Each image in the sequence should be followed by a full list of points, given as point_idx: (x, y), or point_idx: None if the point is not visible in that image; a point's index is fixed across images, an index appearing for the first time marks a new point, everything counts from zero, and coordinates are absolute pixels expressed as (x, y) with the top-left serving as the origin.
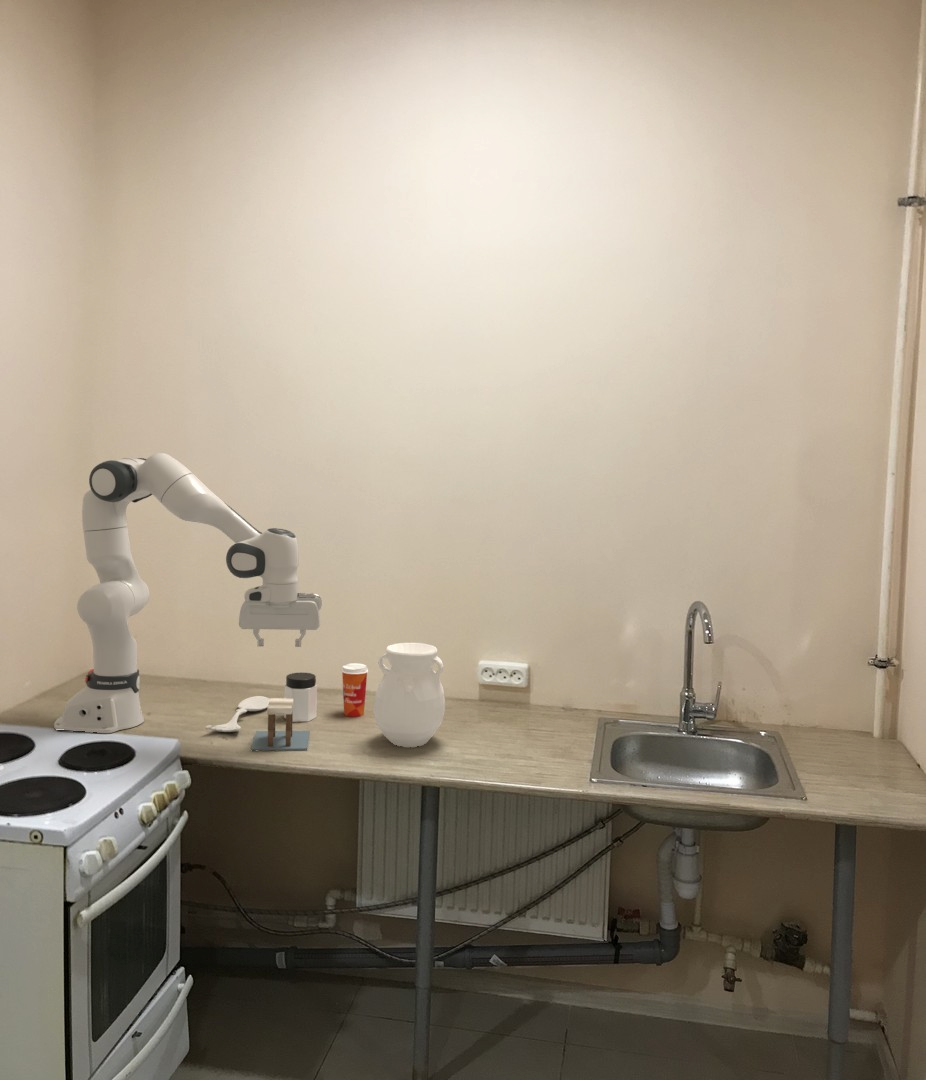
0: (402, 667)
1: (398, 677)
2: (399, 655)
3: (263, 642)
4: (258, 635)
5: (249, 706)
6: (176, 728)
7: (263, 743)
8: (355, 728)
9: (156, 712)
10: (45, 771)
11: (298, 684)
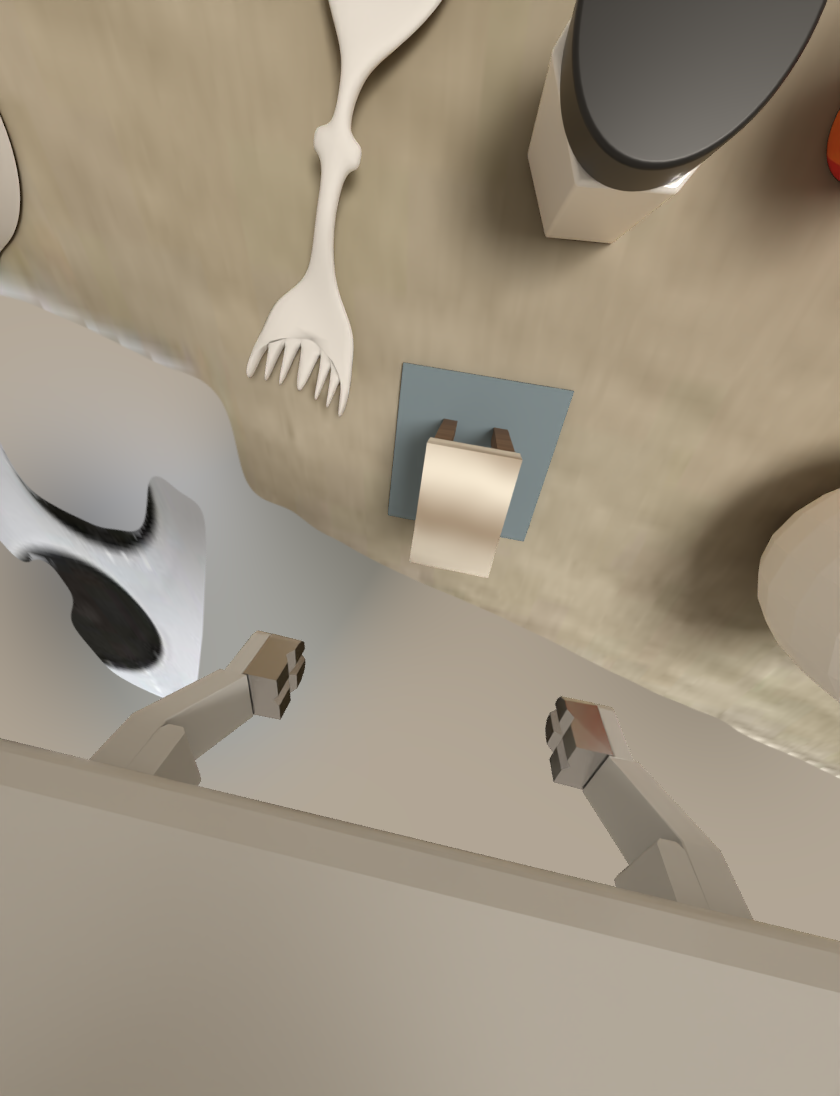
0: None
1: None
2: None
3: (291, 657)
4: (212, 719)
5: None
6: (153, 255)
7: (419, 482)
8: (751, 374)
9: None
10: (38, 529)
11: (621, 180)
